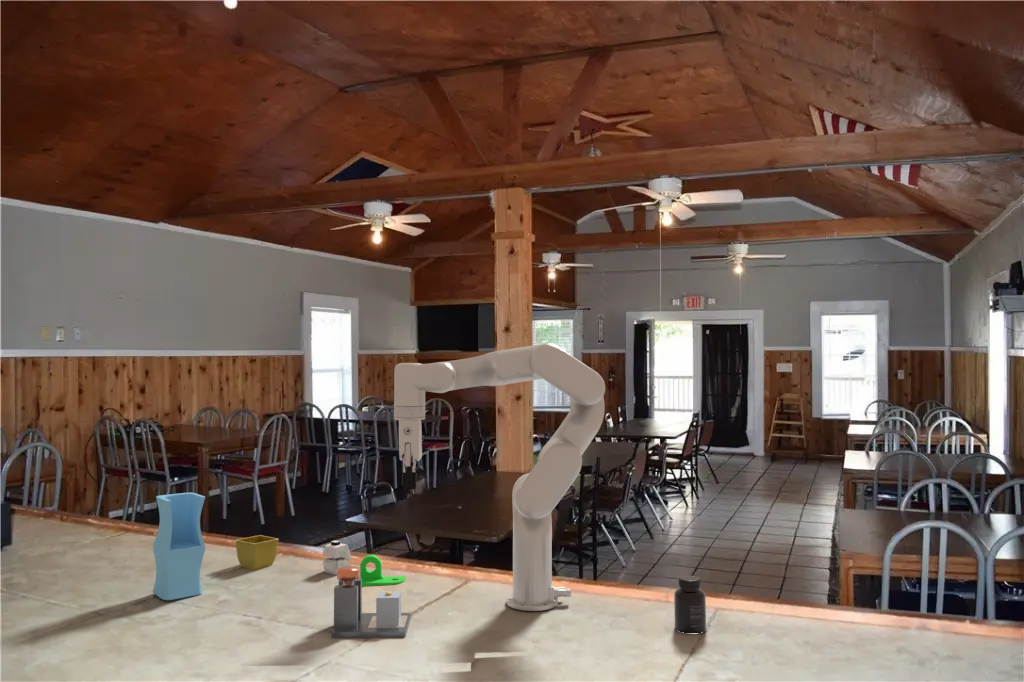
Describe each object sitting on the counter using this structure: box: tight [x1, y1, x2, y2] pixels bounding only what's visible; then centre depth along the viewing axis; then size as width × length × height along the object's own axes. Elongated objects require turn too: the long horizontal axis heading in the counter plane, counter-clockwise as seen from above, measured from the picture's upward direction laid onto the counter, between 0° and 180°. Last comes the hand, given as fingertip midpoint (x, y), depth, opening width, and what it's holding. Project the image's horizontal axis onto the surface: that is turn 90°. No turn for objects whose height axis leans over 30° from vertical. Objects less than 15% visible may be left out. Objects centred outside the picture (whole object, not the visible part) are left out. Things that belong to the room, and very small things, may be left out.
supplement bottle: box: [673, 575, 707, 633], centre depth 175 cm, size 7×7×12 cm
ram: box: [336, 565, 360, 585], centre depth 178 cm, size 5×5×12 cm
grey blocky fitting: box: [322, 540, 352, 576], centre depth 220 cm, size 6×7×10 cm
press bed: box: [331, 578, 412, 639], centre depth 178 cm, size 16×13×10 cm
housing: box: [375, 590, 402, 625], centre depth 178 cm, size 5×5×6 cm
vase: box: [152, 492, 206, 601], centre depth 205 cm, size 10×10×25 cm
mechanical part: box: [359, 554, 406, 587], centre depth 211 cm, size 12×6×8 cm, turn 94°
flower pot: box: [235, 534, 279, 571], centre depth 227 cm, size 9×9×9 cm
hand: (409, 488), depth 192 cm, fingers closed
